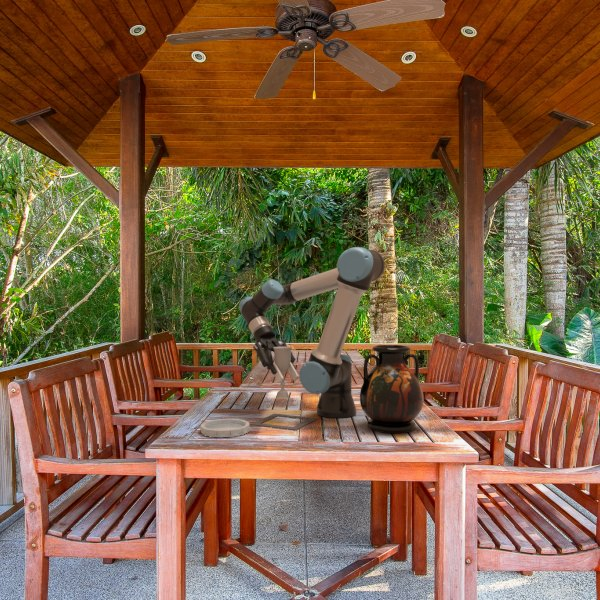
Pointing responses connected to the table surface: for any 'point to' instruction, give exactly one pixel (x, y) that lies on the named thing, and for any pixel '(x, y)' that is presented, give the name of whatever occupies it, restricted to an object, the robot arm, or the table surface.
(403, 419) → the amphora vase
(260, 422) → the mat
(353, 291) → the robot arm
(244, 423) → the plate
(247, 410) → the table surface
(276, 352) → the chalice
